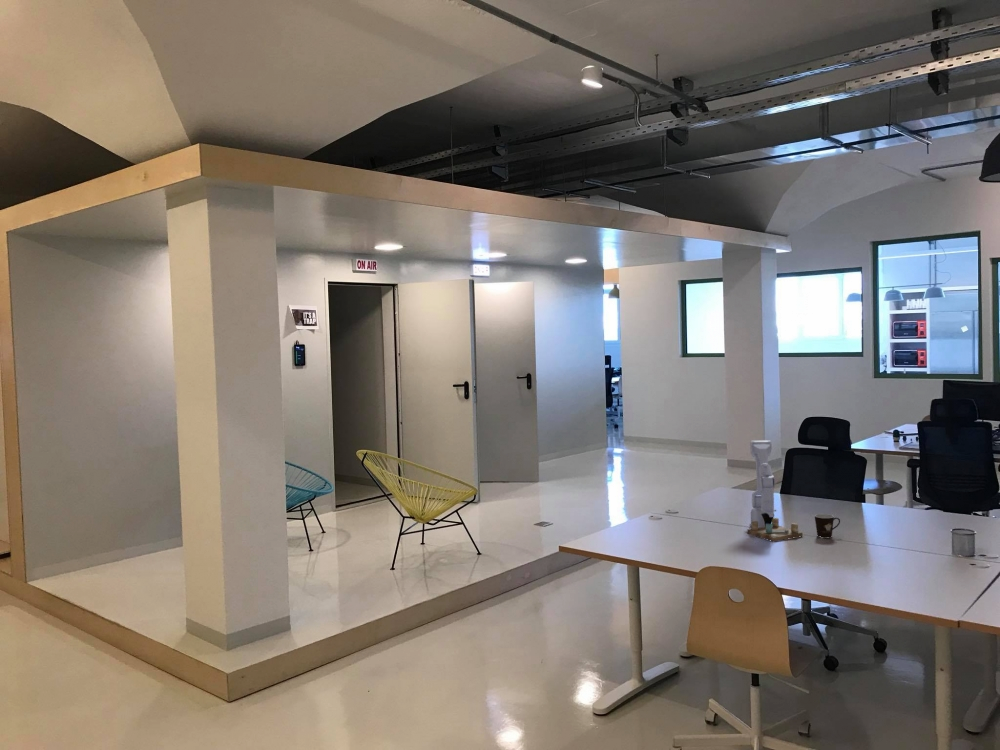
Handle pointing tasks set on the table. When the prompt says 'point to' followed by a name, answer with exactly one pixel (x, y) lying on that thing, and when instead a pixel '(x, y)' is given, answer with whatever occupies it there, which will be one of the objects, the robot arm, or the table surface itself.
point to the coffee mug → (825, 524)
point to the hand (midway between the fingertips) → (768, 528)
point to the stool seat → (775, 527)
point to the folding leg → (769, 530)
